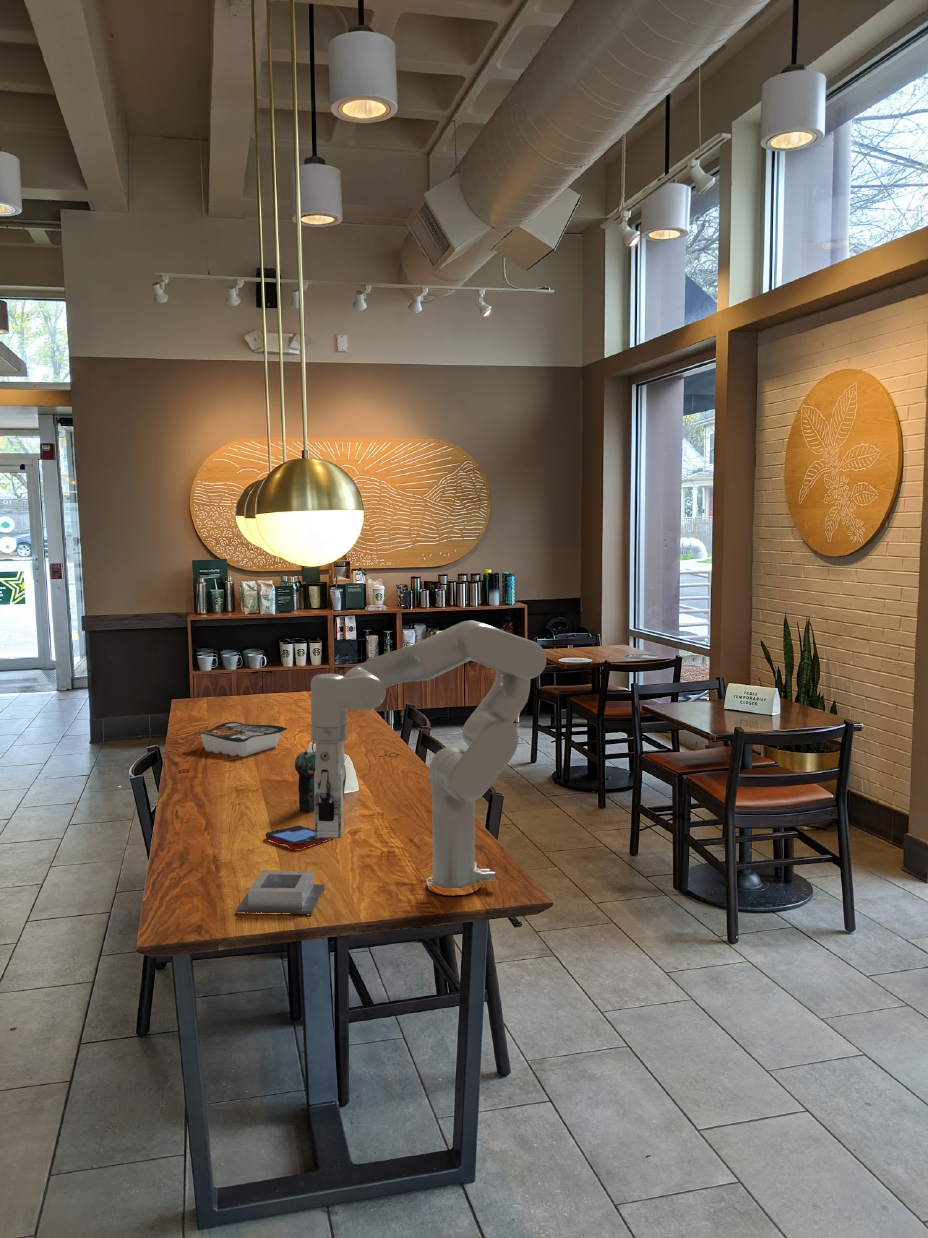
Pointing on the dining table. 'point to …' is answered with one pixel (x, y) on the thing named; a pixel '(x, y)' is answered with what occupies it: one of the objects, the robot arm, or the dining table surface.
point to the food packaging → (241, 738)
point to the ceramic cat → (307, 780)
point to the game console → (294, 837)
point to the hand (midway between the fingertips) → (329, 815)
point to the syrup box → (336, 826)
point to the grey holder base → (282, 893)
